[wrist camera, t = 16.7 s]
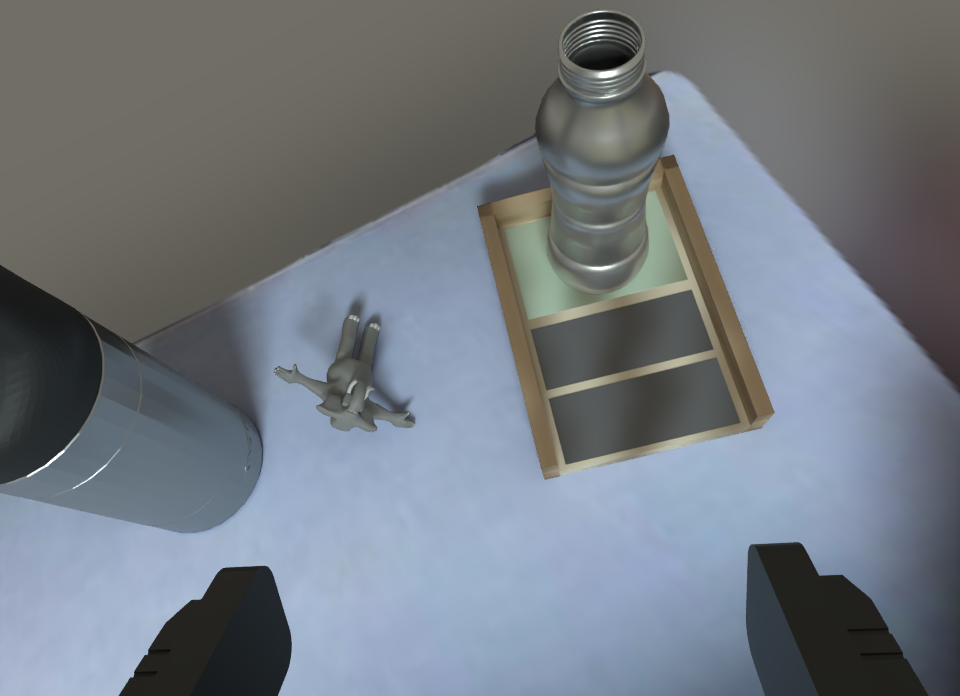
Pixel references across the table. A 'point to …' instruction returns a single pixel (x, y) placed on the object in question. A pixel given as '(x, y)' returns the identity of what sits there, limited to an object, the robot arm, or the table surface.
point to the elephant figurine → (349, 383)
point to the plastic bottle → (600, 151)
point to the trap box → (623, 338)
